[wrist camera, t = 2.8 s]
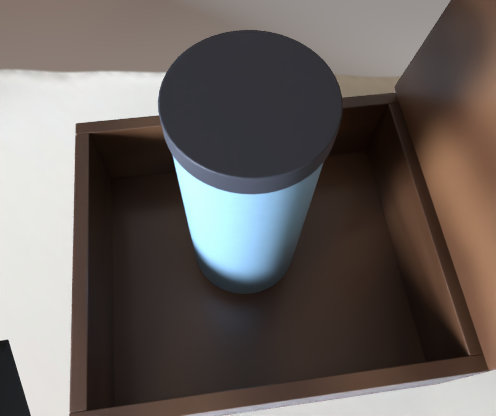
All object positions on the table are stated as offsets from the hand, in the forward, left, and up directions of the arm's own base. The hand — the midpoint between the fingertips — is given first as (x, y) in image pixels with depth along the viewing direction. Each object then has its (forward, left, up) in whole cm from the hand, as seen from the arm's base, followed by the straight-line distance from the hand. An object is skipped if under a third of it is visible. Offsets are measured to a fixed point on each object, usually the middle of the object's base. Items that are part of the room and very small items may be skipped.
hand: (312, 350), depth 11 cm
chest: (-2, +8, -18) cm, 20 cm away
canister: (-3, +9, -18) cm, 20 cm away
